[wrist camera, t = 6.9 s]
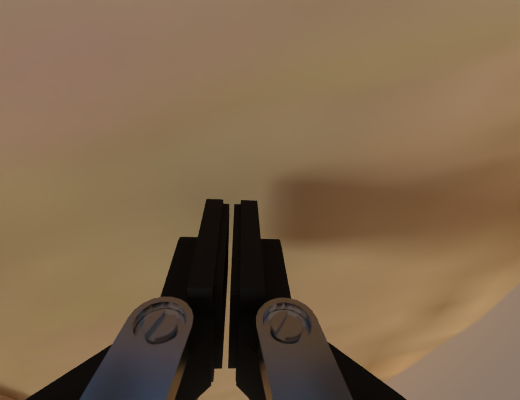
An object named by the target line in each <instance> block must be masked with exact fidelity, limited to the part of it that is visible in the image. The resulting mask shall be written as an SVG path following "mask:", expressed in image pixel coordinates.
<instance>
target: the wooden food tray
mask: <svg viewBox="0 0 520 400" xmlns="http://www.w3.org/2000/svg"><path fill="white" fill-rule="evenodd" d="M0 400H16V399H12V398H9V397H6V396H3V395H0Z"/></svg>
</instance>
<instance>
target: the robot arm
mask: <svg viewBox="0 0 520 400" xmlns="http://www.w3.org/2000/svg"><path fill="white" fill-rule="evenodd" d="M228 243H229V204H223V200H221V199H206V203H205V208H204V212H203V217H202V221H201V226H200V230H199V235H198V237H180V238H179V240H178V243H177V246H176V249H175V253H174V256H173V259H172V262H171V265H170V269H169V272H168V275H167V278H166V281H165V284H164V288H163V291H162V294H161V297H159V298H154V299H151V300H149V301H147V302H145V303H143V304H141V305H140V306H139V307H137V308H136V309H135V310H134V311H133V312H132V313H131V315H130V316H129V317H128V319H127V320H126V322H125V324H124V325H123V327H122V329H121V331H120V332H119V334H118V336H117V337H116V339H115V341H114V342H113V344H112V345H110V346H108V347H107V348H105V349H104V350H102V351H101V352H99V353H98V354H96V355H94V356H93V357H91V358H90V359H88V360H87V361H85V362H83V363H82V364H80V365H79V366H77V367H76V368H74V369H72V370H71V371H69V372H68V373H66V374H65V375H63V376H62V377H60V378H58V379H57V380H55V381H54V382H52V383H51V384H49V385H47V386H46V387H44V388H43V389H41V390H40V391H38V392H37V393H35V394H33V395H32V396H30V397H29V398H27V399H26V400H198V397H199V396H200V395H201V394H202V393H204V392H205V391H206V390H207V389H208V388H209V387H210V386H211V382H213V378H214V369H217V368H222V358H223V342H224V326H225V310H226V294H227V277H228ZM228 368H236V385H237V386H238V387H239V389H240V390H241V391H242V392H243V393H244V394H245V395H246V396H247V397H248V398H249V400H406V399H405V398H404V397H403V396H401V395H400V394H398V393H397V392H396V391H394V390H393V389H392V388H390V387H389V386H387V385H386V384H385V383H383V382H382V381H381V380H379V379H378V378H377V377H375V376H374V375H372V374H371V373H370V372H368V371H367V370H366V369H364V368H363V367H362V366H360V365H359V364H357V363H356V362H355V361H353V360H352V359H351V358H349V357H348V356H346V355H345V354H344V353H342V352H341V351H340V350H338V349H337V348H335V347H334V346H333V345H331V344H330V343H329V342H327V340H326V338H325V335H324V333H323V331H322V329H321V326H320V324H319V322H318V320H317V318H316V316H315V314H314V313H313V311H312V310H311V309H310V308H309V307H307V306H306V305H305V304H303V303H301V302H299V301H298V300H294V299H291V295H290V290H289V285H288V279H287V274H286V269H285V263H284V258H283V253H282V247H281V242H280V240H279V239H261V238H260V227H259V216H258V205H257V201H249V200H241V204H234V225H233V247H232V268H231V291H230V325H229V359H228Z"/></svg>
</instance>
